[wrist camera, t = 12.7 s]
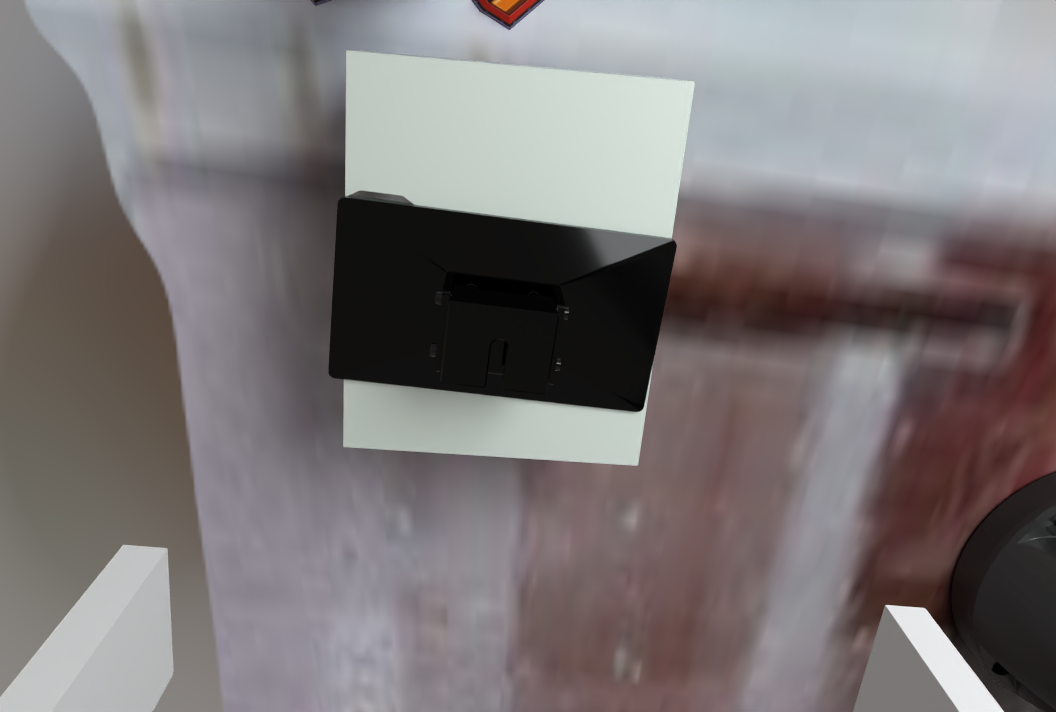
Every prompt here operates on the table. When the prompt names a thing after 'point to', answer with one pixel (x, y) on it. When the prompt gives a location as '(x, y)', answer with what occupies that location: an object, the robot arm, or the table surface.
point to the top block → (510, 214)
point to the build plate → (495, 304)
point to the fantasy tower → (497, 9)
